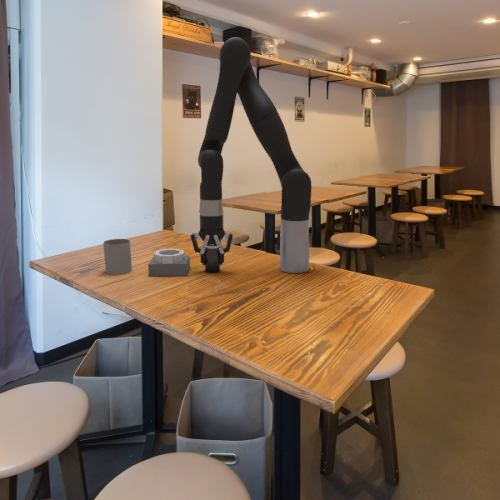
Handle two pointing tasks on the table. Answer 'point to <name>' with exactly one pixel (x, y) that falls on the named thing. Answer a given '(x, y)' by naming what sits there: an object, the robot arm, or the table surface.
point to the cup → (117, 256)
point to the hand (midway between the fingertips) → (212, 264)
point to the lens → (212, 259)
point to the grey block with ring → (169, 263)
